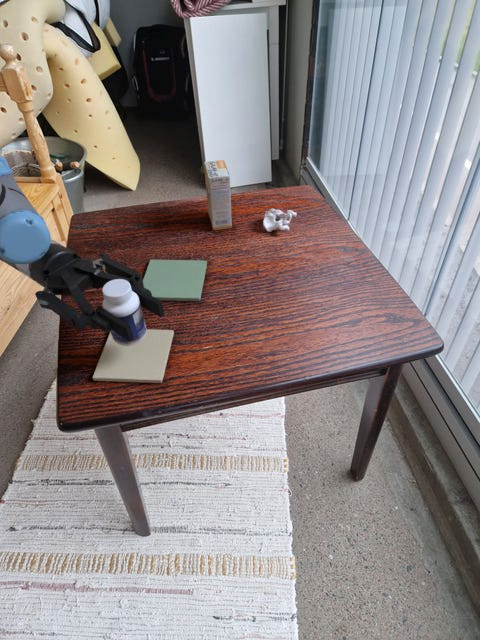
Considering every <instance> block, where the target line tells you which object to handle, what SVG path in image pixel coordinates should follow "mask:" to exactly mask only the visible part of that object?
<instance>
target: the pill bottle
mask: <svg viewBox="0 0 480 640" xmlns="http://www.w3.org/2000/svg"><path fill="white" fill-rule="evenodd" d="M101 289H102V295H103V300H102V303H101V306H102V307H101V308H103V309H104V310H106V311H108V312H109V313H111V314H112V315H114V316H116V317H117V318H119V319H121V320H122V321H124V322H125V323H127V324H129V325H130V327H131V330H132V333H133V337H134V339H133V340H132V341H131V342H129V341H128V340H126V339H125V338H123V337H122V336H120V335H118V334H117V333H115V332H114V331H112V330H111V335H112V337H113V340H114V341H115V342H116V343H117V344H119V345H122V346H131V345H135V344H137V343H139V342H140V341H142V340H143V339H144V337H145V336H146V332H147V324H146V320H145V317H144V312H143V307H142V306H141V304H140V300H139V297H138V295H137V294H136V293H135V292H133V291H132V289H131V285H130V283H129V282H128V281H126V280H124V279H115V280H111V281H109V282H107V283H106V284H105V285H104V286H103V288H101Z"/></svg>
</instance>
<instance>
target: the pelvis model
mask: <svg viewBox="0 0 480 640" xmlns="http://www.w3.org/2000/svg"><path fill="white" fill-rule="evenodd" d="M264 212H265V213H264V216H263V220H262V225H263V228H264V229H265V231H267V232H268V233H272V231H276V230H279V231H290V223H291V220H292V219H293V217H294V218H297V216H298V215H297V212H295V211H293V210H291V209H288V210H286V213H285V212H283V211H282V210H281V209H275V208H273V207H272V208H269V209H268V211H267V210H265V211H264ZM287 219H288V220H287Z"/></svg>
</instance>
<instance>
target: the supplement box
mask: <svg viewBox="0 0 480 640" xmlns="http://www.w3.org/2000/svg"><path fill="white" fill-rule="evenodd" d="M203 166H204V167H203V168H204V180H205V181H204V183H205V193H206V204H207V205H206V206H207V213H208V218H209V220H210V223H211V228H212V230H213V231H220V230H229V229H232V228H233V223H232V222H233V221H232V218H233V217H232V197H231V196H232V195H231V175H230V173H229V170H228V167H227V165H226V162H225V160H224V159H220V160H209V161H204V162H203Z"/></svg>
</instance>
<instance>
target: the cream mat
mask: <svg viewBox="0 0 480 640" xmlns="http://www.w3.org/2000/svg"><path fill="white" fill-rule="evenodd" d="M146 329H147V328H146ZM174 335H175V331H174V330H173V329H151V328H150V329H147V332H146V336H145V337H144V339H143V340H142V341H140V342H139V343H137V344H135V345H131V346H122V345H119V344H117V343H116V342H115V341H114V340H113V337H112V335H111V331H109V334H108V337H107V339H106V342H105V344H104V346H103V350H102V352H101V354H100V357H99V360H98V363H97V364H96V367H95V370H94V373H93V375H92V380H93V381H94V382H95V381H96V382H120V383H121V382H122V383H124V382H125V383H144V384H145V383H147V384H148V383H149V384H163V381H164V376H165V374H166V373H165V372H166V368H167V364H168V360H169V355H170V351H171V348H172V343H173V339H174Z"/></svg>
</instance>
